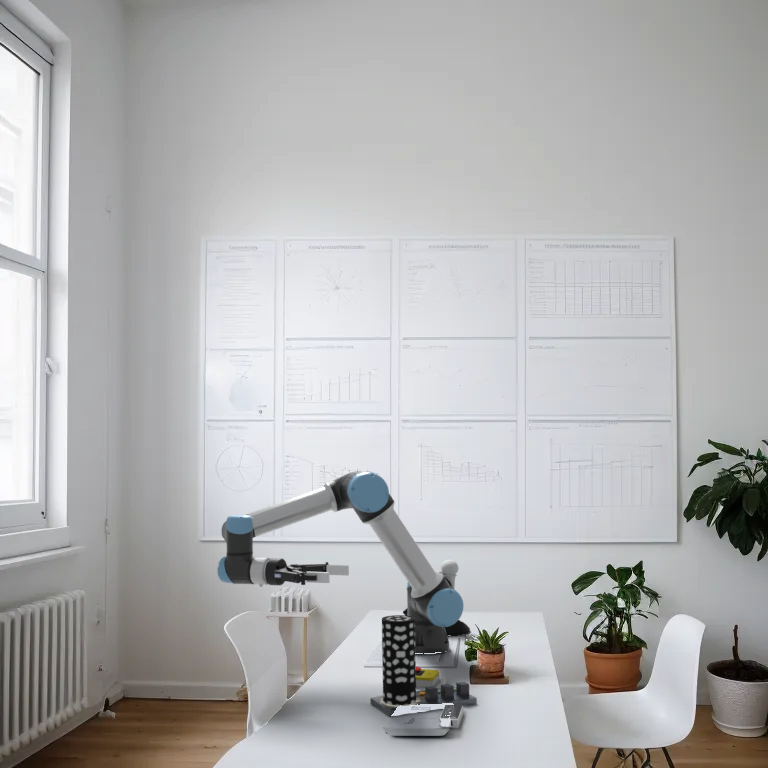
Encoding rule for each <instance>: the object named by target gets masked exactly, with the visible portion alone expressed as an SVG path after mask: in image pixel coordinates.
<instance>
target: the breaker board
mask: <svg viewBox="0 0 768 768" xmlns="http://www.w3.org/2000/svg"><path fill="white" fill-rule="evenodd" d="M477 702H478V699H477V697H475V696H473V695H471V694H470V684H469V683H468V682H466V681H460V682H459V681H457V682H455V686H454V685H453V684H451V683H445V684H443V685H441V688H436V687H435V686H429V687H425V688H424V689H422V690H416V701H415V702H414V703H411V704H407V705H401V706H409V705H417V704H418V705H420V704H442V703H453V704H454V705H462V706H463V707H465V706H464V705H468V706H473V705H477V704H478V703H477ZM370 705H372V706H373V707H374V708H376V709H378V710H379V711H381V712H382V713H383V714H385V715H386V716H387V717H389V718H392V717H391V715H392V714H393V713H394V711H395V710H396V708H397V707H398V706H400V705H391V704H387V703H385V702H384V701H383V695H379V696H372V697H370Z"/></svg>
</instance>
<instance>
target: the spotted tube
mask: <svg viewBox="0 0 768 768" xmlns="http://www.w3.org/2000/svg"><path fill="white" fill-rule="evenodd" d="M381 648H382V649H381V654H382V655H381V657H382V660H381V661H382V663H381V665H382V696H383V701H384V702H385V703H387V704H391V705H407V704H411V703H414V702H415V701H416V691H417V688H416V667H417V666H416V657H417V656H416V654H415V618H414V617H412V616H406V615H404V614H403V615H401V614H396V615H387V616H382V617H381Z"/></svg>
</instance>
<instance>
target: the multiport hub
mask: <svg viewBox="0 0 768 768" xmlns="http://www.w3.org/2000/svg"><path fill="white" fill-rule="evenodd" d="M449 712H451V713H449ZM445 715H446V716H445ZM447 715H450V716H447ZM462 716H464V706H462V705H445V707H444V709H442V711H441V714H440V716H439V720H440V719H448V718H449V717H450V719H451V728H452V729H458V728H460V725H461V722H462V719H463V717H462ZM451 728H450V729H451Z"/></svg>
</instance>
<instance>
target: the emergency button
mask: <svg viewBox="0 0 768 768" xmlns="http://www.w3.org/2000/svg"><path fill="white" fill-rule="evenodd" d="M440 675H441V674H440V670H439V669H431V668H430V669H429V668H428V669H427V668H421V667H420V666H416V689H417V688H418V689H419V688H420V689H425V687H429V686H435V687H436V688H441V685H443V684H447V682H448V680H447V679H446V678H445V679H442V678H440Z"/></svg>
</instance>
